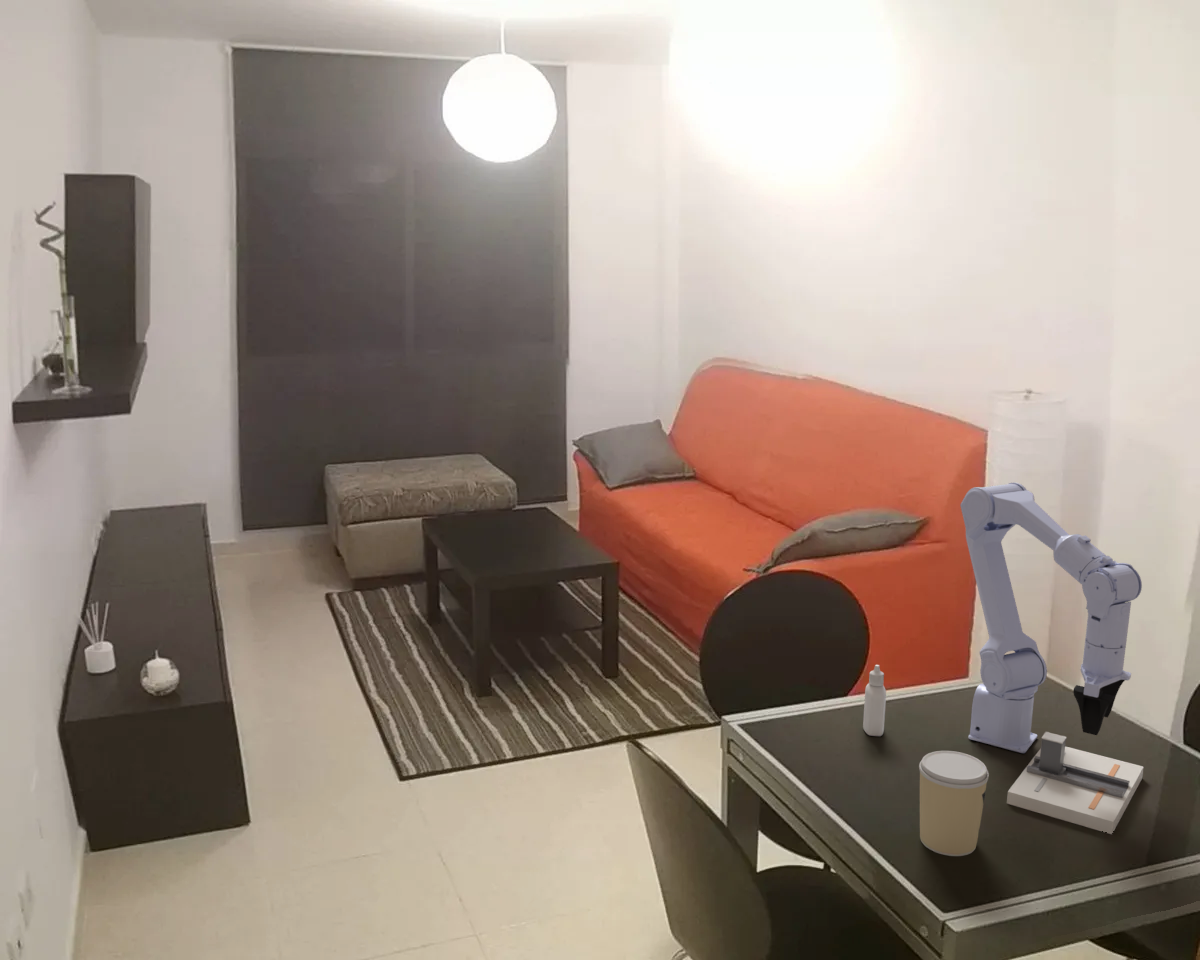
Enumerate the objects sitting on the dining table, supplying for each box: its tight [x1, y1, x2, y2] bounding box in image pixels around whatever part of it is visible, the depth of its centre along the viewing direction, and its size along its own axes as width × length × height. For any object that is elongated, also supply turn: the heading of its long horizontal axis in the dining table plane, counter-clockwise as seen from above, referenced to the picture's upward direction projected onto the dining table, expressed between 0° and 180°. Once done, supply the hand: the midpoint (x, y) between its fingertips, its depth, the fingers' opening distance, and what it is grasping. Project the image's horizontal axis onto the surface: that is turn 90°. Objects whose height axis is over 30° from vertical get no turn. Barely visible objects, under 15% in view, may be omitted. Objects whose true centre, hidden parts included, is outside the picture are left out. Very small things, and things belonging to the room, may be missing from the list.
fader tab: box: [1036, 731, 1067, 775], centre depth 176 cm, size 4×2×6 cm, turn 54°
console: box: [1006, 745, 1144, 835], centre depth 175 cm, size 15×21×3 cm
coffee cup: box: [918, 750, 990, 857], centre depth 159 cm, size 9×9×12 cm
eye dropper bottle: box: [862, 664, 887, 737], centre depth 194 cm, size 4×6×12 cm
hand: (1095, 724), depth 175 cm, fingers open, 7 cm apart
